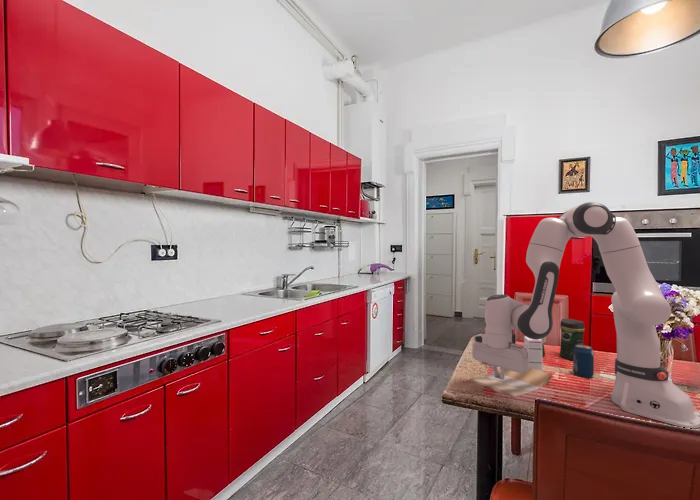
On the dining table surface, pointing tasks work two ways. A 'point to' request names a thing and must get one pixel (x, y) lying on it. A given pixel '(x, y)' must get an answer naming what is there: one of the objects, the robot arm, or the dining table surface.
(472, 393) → the dining table surface
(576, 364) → the soda can
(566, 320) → the coffee jar
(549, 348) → the dining table surface
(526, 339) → the syrup box
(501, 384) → the birch plank
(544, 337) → the character mug
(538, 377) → the oak plank
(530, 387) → the grey plank
